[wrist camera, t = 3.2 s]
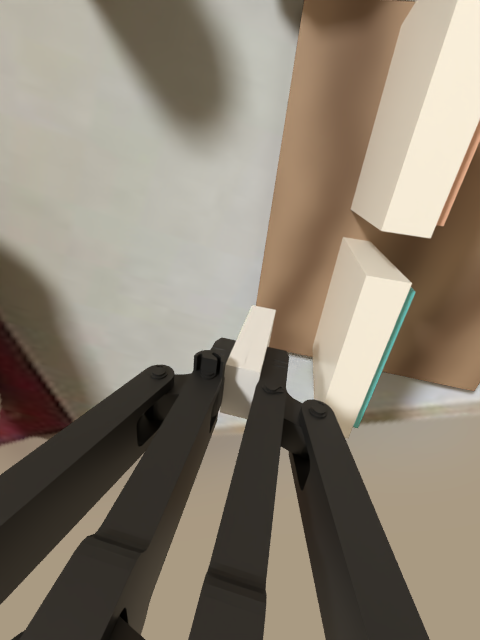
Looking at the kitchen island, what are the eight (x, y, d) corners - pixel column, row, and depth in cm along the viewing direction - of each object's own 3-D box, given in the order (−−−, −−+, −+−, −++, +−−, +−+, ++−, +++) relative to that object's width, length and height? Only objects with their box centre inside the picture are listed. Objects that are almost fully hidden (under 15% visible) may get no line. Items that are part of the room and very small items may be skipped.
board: (252, 336, 29) (250, 343, 28) (305, 9, 18) (304, -5, 17) (465, 380, 27) (474, 391, 25) (675, 30, 16) (709, 16, 14)
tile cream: (350, 209, 21) (381, 231, 12) (401, 25, 17) (506, -147, 8) (386, 214, 21) (443, 240, 12) (447, 28, 16) (611, -148, 8)
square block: (312, 347, 27) (314, 430, 18) (342, 237, 22) (366, 275, 13) (340, 353, 26) (356, 440, 18) (376, 242, 22) (423, 285, 13)
